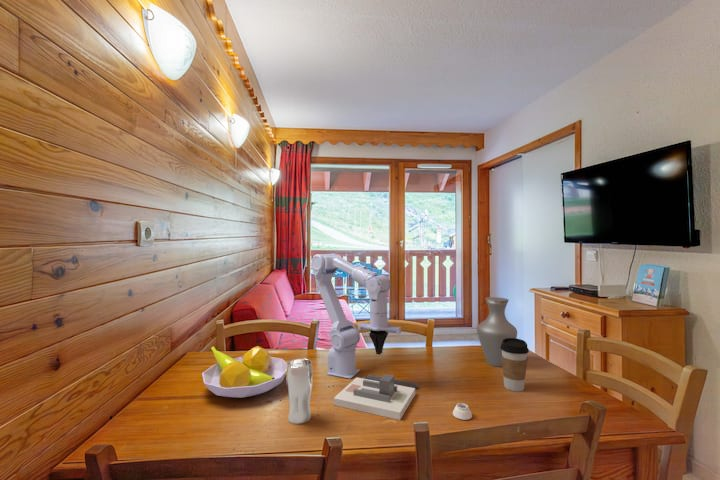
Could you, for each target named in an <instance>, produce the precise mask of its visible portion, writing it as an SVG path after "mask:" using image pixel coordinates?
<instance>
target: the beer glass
mask: <svg viewBox="0 0 720 480" xmlns="http://www.w3.org/2000/svg"><path fill="white" fill-rule="evenodd" d="M286 363H287V373H286V375H285V376H286V377H285V379H286V381H285V382H286V383H285V384H286V391H287V396H288V401H289V410H288V411H289V412H288V417H287V420H288V422H290V423H291V424H294V425H302V424H305V423H307V422H309V421H310V420H311V418H312V415H311V414H312V413H311V407H310V404H311V403H310V402H311V396H312V395H311V394H312V390H313V389H312V388H313V380H314V377H313V376H314V375H313V374H314V373H313V362H312V360H311V359H309V358H303V357H302V358H294V359H291V360H289V361H288V362H286Z"/></svg>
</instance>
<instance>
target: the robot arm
mask: <svg viewBox="0 0 720 480" xmlns="http://www.w3.org/2000/svg"><path fill="white" fill-rule="evenodd" d="M310 267H311V270H312V273H313V275H314V280H315V284H316V286H317V289H318V292H319V294H320V297H321V298H322V299H321V300H322V301H323V304H324V307H325V309H326V312H327V314H328V316H329V319H330V323H331V324H332V325H331V328H329V331H328V333H329V336H330V343H331V347H330V348H329V350H328V354H327V372H326V374H327V375H328V376H332V377H333V376H334V377H339V378H345V379H352V378H354V376H356V375H357V374H359V372H360V370H361V369H359V368H357V367H356V360H357V359H356V357H357V355H356V351H357V349H356V348H357V346H358V344H359V342H360V340H361V334H360V331H370V332H369V333H368V336H369V338H370V339H371V341H372V344H373V346H374V350H375V353H376V355H378V356H379V355H382V354H383V350H384V345H385V343H386V339H387V337H388V335H389V333H390V334H396V335H400V334H402V327H401V326H397V325H393V324H392V325H391V324H388V322H389V321H388V291H389V290H390V289H391V283H392V282H391V280H390V278H389V276H387V275H386V274H378V272H376V271H372V270H371V269H368V268H367V265H358V266H356V265H354V264H353V263H351V262H349V261H348V260H346V259H345V258H343V257H342V256H341V255H340V254H337V253H335V252H332V253H324V254H323V253H321V254H320V253H317V254H315V255H313V257H312V259H311V262H310ZM338 270H339V271H342V272H344V273H346V274H347V275H349V276H351V278H352V280H353V281H354V282H355V283H357V284H360V285H361V286H363V287H364V288H365V289H366V292H367V293H368V297H369V322H359V323H358V324H357V328H356V326H355V325H354V322H353V321H350V320H349V319H347V317H346V314H345V312H344V309H343V306H342V304H341V301H340V300H339V298H338V295H337V293H336V292H337V291H336V290H335V287H334V284H333V281H332V278H333V277H334V276H335V274H336V272H337V271H338Z"/></svg>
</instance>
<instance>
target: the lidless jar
mask: <svg viewBox="0 0 720 480" xmlns="http://www.w3.org/2000/svg"><path fill="white" fill-rule="evenodd" d="M452 415H453V417H455V418H456V419H458V420H463V421H467V420H470V419H472V418H473V414H472V412H471V409H470V408H469V405H468V404H466V403H462V402H458V403H457V404H456V405H455V407H454V409H453V411H452Z"/></svg>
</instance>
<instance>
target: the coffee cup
mask: <svg viewBox="0 0 720 480" xmlns="http://www.w3.org/2000/svg"><path fill="white" fill-rule="evenodd" d="M500 348H501V350H502V373H503V374H502V375H503V376H502V377H503V385H504V388H505V389H506V390H508V391H513V392H523V391H524V390H525V382H526V373H527V367H528V353H529V352H530V350H529V348H528V344H527V342H526V341H525V340H524V339H520V338H506V339H503V341H502V345H501V347H500Z"/></svg>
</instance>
